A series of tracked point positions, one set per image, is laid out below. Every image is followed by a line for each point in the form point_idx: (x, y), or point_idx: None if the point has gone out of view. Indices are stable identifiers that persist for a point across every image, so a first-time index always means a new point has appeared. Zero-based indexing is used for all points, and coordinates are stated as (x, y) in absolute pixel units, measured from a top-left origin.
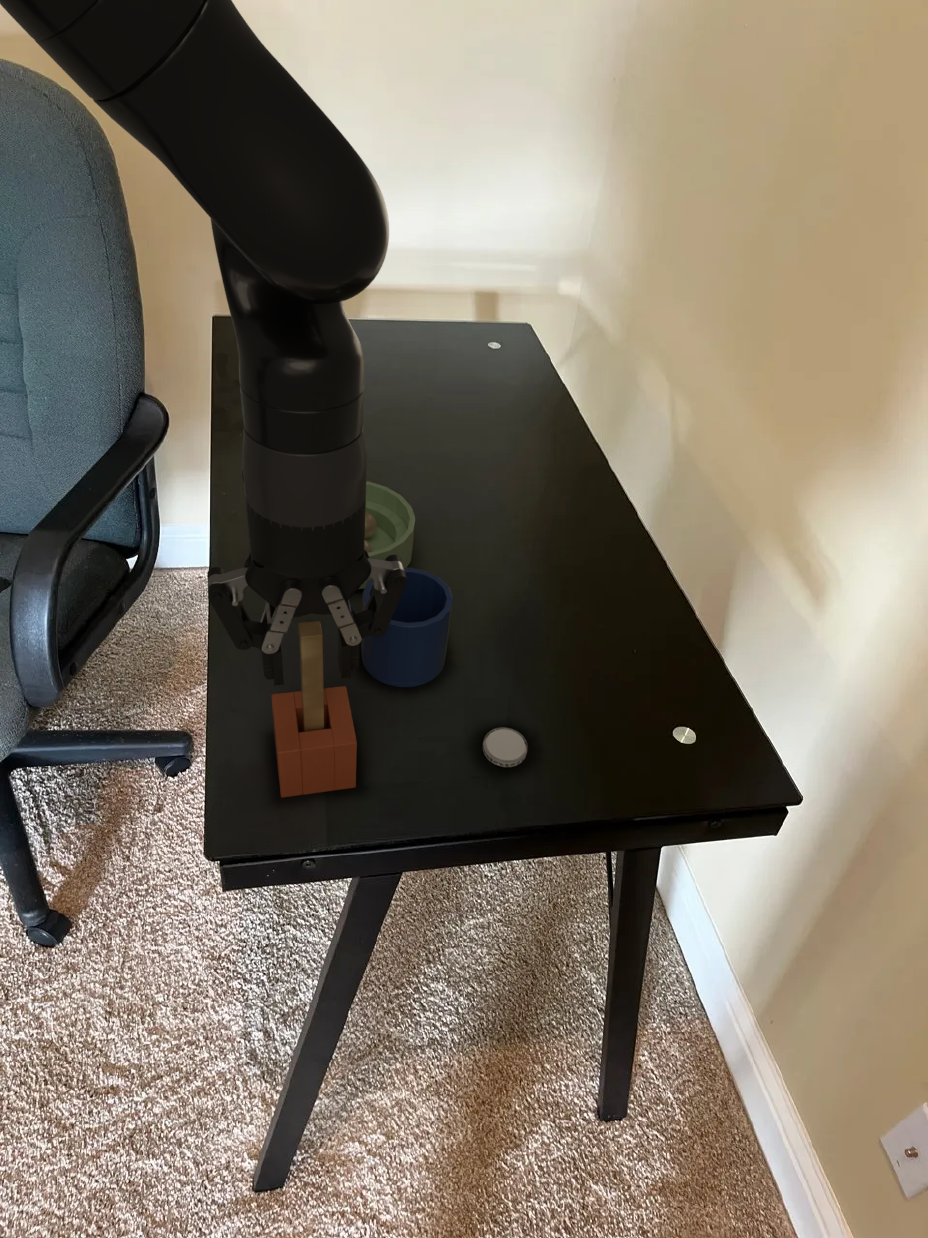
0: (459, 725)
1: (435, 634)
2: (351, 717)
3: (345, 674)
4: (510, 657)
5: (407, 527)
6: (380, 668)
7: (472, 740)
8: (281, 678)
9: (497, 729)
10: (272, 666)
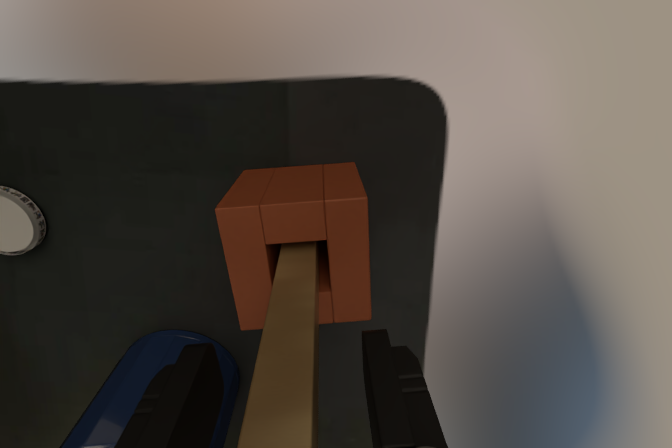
0: (89, 265)
1: (84, 422)
2: (227, 266)
3: (194, 353)
4: (24, 369)
5: None
6: None
7: (66, 238)
8: (370, 348)
9: (20, 252)
10: (399, 387)
